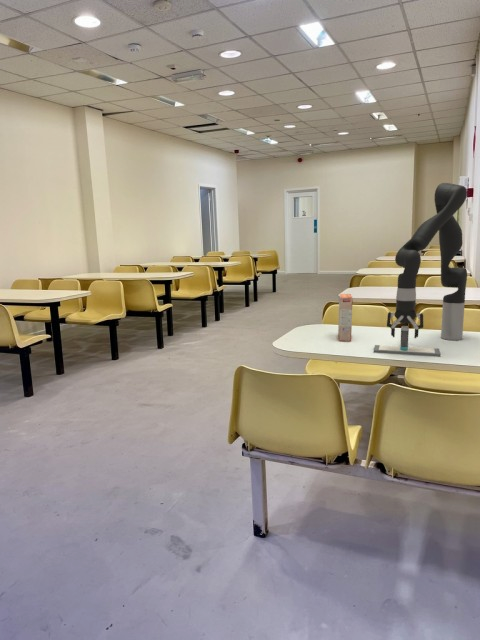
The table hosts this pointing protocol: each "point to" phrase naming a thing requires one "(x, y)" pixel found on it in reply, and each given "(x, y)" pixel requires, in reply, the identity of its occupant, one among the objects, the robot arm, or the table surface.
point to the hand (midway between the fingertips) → (404, 337)
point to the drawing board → (409, 352)
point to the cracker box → (345, 317)
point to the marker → (404, 338)
